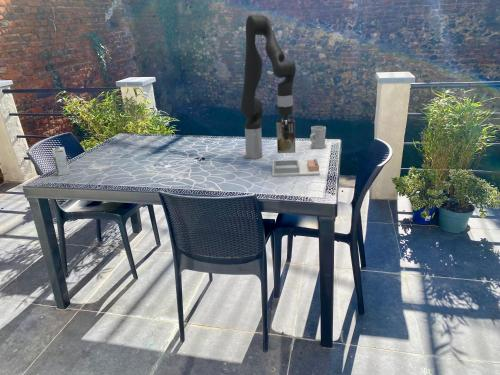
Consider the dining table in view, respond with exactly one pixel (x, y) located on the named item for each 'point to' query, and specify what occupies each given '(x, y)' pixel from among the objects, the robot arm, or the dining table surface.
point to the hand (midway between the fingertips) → (285, 137)
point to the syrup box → (60, 161)
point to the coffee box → (282, 144)
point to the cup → (318, 137)
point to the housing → (291, 169)
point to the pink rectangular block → (312, 165)
